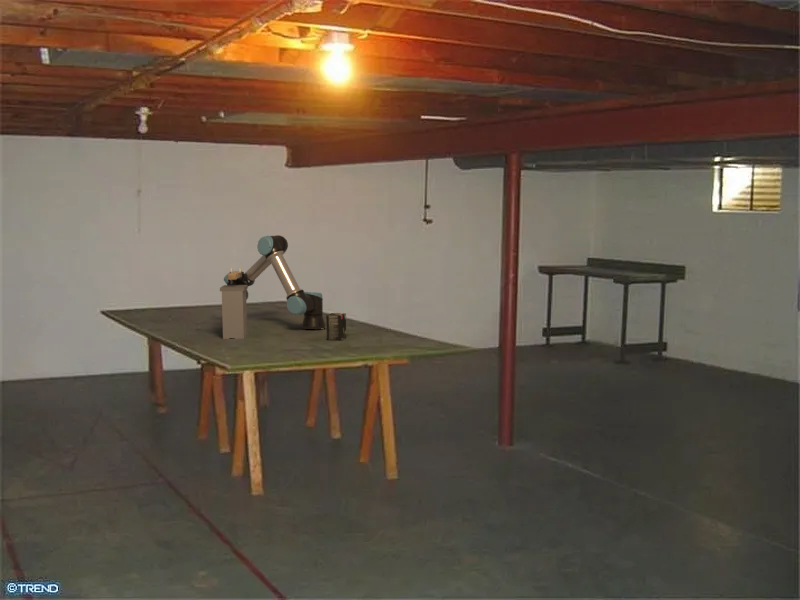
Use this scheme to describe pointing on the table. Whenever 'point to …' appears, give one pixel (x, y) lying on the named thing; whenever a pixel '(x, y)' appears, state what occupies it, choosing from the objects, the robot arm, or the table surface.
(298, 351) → the table surface
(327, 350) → the table surface
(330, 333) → the tampon box
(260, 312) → the table surface
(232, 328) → the grey stand
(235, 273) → the birch strip
